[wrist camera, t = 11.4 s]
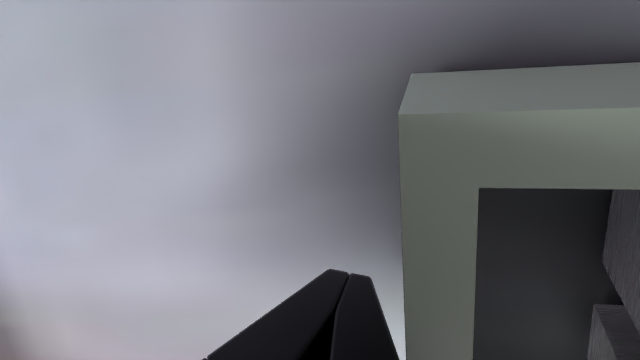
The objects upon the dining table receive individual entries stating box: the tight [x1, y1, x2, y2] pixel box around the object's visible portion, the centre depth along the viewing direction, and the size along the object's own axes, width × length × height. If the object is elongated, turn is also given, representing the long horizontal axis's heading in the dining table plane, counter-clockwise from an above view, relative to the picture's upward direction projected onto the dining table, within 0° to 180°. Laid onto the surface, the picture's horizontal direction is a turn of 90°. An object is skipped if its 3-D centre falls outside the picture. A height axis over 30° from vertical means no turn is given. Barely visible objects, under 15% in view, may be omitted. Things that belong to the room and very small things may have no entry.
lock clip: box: [397, 62, 640, 360], centre depth 8 cm, size 8×6×2 cm
